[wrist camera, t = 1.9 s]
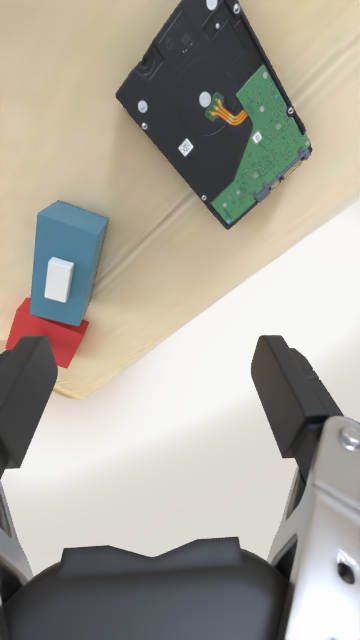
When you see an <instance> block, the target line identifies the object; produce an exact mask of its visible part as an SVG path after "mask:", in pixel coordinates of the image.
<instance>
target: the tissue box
mask: <svg viewBox="0 0 360 640" xmlns="http://www.w3.org/2000/svg"><path fill="white" fill-rule="evenodd" d="M108 220H109V219H108V218H105V217H103V216H100V215H97V214H94V213H92V212H89V211H86V210H83V209H81V208H78V207H75V206H72V205H70V204H67V203H64V202H61V201H59V200H58V201H56V202H55V203H53V204H52V205H50V206H49V207H47V208H45V209H44V210H42V211H41V212H39V213H38V215H37V228H36V240H35V252H34V264H33V277H32V289H31V301H30V314H31V315H35V316H39V317H43V318H47V319H51V320H55V321H59V322H63V323H67V324H71V325H75V326H80V323H81V321H82V319H83V316H84V314H85V312H86V309H87V307H88V305H89V302H90V299H91V294H92V290H93V286H94V281H95V277H96V272H97V268H98V264H99V259H100V255H101V250H102V246H103V242H104V237H105V233H106V228H107V224H108Z"/></svg>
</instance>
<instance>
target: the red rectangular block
mask: <svg viewBox="0 0 360 640" xmlns="http://www.w3.org/2000/svg"><path fill="white" fill-rule="evenodd" d="M30 301H31V299H29V298H26V299H25V301H24V302H23V303H22V304H21V306H20V307H19V308H18V309H17V311H16V315H15V318H14V321H13V325H12V328H11V331H10V334H9V338H8V341H7V345H6V349H9V350H13V348H14V347H15V345H16V344H17V342H18V341H19V339H20V338H21V337H22V336H24V335H46V336H47V337H48V338H49V341H50V344H51V347H52V350H53V354H54V357H55V360H56V363H57V366H60V367H64V368H68V366H69V364H70V362H71V360H72V358H73V356H74V354H75V352H76V350H77V348H78V346H79V344H80V342H81V340H82V338H83V336H84V333H85V331H86V328H87V325H88V323H89V322H87V321H84V320H82V321H81V323H80V326H75V325H71V324H67V323H63V322H59V321H55V320H51V319H47V318H43V317H39V316H35V315H31V314H30Z"/></svg>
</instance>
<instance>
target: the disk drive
mask: <svg viewBox="0 0 360 640" xmlns="http://www.w3.org/2000/svg"><path fill="white" fill-rule="evenodd" d="M116 98H117V99H118V100H119V102H120V103H121V104H122V105H123V107H124V108H125V109H126V110H127V112H128V114H129V115H130V116H131V117H132V118H133V120H134V121H135V122H136V123H137V124H138V125H139V126H140V128H142V129H143V130H144V132H145V133H146V134H147V135H148V137H149V138H150V139H151V140H152V141H153V142H154V144H155V145H156V146H157V147H158V149H159V150H160V151H161V152H162V153H163V154H164V155H165V157H166V158H167V159H168V160H169V161H170V163H171V164H172V165H173V166H174V167H175V169H176V170H177V171H178V172H179V174H180V175H181V176H182V177H183V178H184V179H185V181H186V182H187V183H188V184H189V185H190V187H191V188H192V189H193V190H194V191H195V193H196V194H197V195H198V196H199V197H200V198H201V200H202V201H203V202H204V203H205V205H206V206H207V208H208V209H209V210H210V211H211V212H212V214H213V215H214V216H215V217H216V218H217V219H218V220H219V221H220V223H221V224H222V225H223V226H224V227H225V228H226V229H227V230H229V229H230V228H231V227H232V226H233V225H235V224H236V223H237V222H238V221H239V220H240V219H241V218H242V217H243V216H245V215H246V214H247V213H248V212H249V211H250V210H251V209H252V208H254V207H255V206H256V205H257V203H259V202H261V201H262V200H263V199H264V198H265V197H266V196H267V195H269V194H270V190H272V189H274V188H275V187H276V186H277V185H278V184H279V183H280V182H281V180H282V179H283V180H284V179H285V178H286V177H287V176H288V175H289V174H290V173H291V172H292V171H293V170H294V169H296V168H297V167H298V166H299V165H300V164H301V163H302V161H303V160H307V159H308V157H309V156H310V155H311V152H312V147H311V144H310V141H309V139H308V137H307V136H306V134H305V132H306V129H305V127H304V124H303V123H302V122H301V119H300V118H299V116H298V115H297V113H296V111H295V109H294V107H293V106H292V104H291V102H290V100H289V98H288V96H287V94H286V92H285V90H284V88H283V86H282V84H281V82H280V80H279V78H278V77H277V75H276V73H275V71H274V69H273V67H272V65H271V64H270V61H269V60H268V58H267V56H266V54H265V52H264V50H263V48H262V46H261V45H260V42H259V40H258V38H257V37H256V35H255V33H254V31H253V29H252V27H251V26H250V24H249V21H248V19H247V18H246V16H245V14H244V12H243V10H242V8H241V6H240V4H239V2H238V0H181V2H180V3H179V4H178V6H177V7H176V8H175V10H174V11H173V13H172V14H171V15H170V17H169V19H168V20H167V21H166V23H165V24H164V26H163V27H162V29H161V30H160V31H159V33H158V34H157V35H156V37H155V38H154V40H153V41H152V43H151V45H150V47H149V48H148V50H147V52H146V53H145V54H144V56H143V59H142V61H140V62H139V63H138V65H137V66H136V67H135V68H134V69H132V71H131V72H130V74H129V75H128V77H127V78H126V80H125V81H124V82H123V84H122V85H121V87H120V88H119V90H118V91H117V92H116Z"/></svg>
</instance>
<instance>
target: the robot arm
mask: <svg viewBox="0 0 360 640" xmlns="http://www.w3.org/2000/svg"><path fill="white" fill-rule="evenodd" d="M57 374H58V368H57V363H56V360H55V357H54V354H53V350H52V347H51V344H50V341H49V338H48V337H47V336H46V335H24V336H22V337H21V338H20V339H19V341H18V342H17V344H16V345H15V347H14V348H13V350H6V351H4V352H3V353H2V354H0V479H1V477H2V474H3V472H4V470H5V469H10V468H11V469H12V468H20V466H21V464H22V461H23V459H24V457H25V454H26V452H27V449H28V447H29V445H30V442H31V440H32V438H33V435H34V433H35V430H36V428H37V426H38V423H39V421H40V418H41V416H42V414H43V411H44V409H45V406H46V404H47V402H48V399H49V397H50V394H51V392H52V390H53V387H54V385H55V383H56V380H57ZM251 375H252V379H253V382H254V384H255V387H256V390H257V392H258V395H259V398H260V400H261V403H262V406H263V408H264V411H265V413H266V416H267V419H268V421H269V424H270V427H271V429H272V432H273V434H274V437H275V440H276V442H277V445H278V447H279V450H280V452H281V455H282V458H295V459H296V462H297V464H298V467H297V469H296V471H295V475H294V478H293V482H292V486H291V489H290V492H289V496H288V500H287V503H286V506H285V510H284V514H283V517H282V521H281V524H280V526H279V529H278V532H277V534H276V536H275V538H274V540H273V544H272V546H271V549H270V552H269V555H268V559H267V561H266V560H264V559H262V558H260V557H259V556H257V555H256V554H254V553H251V552H249V551H247V550H244V549H241V548H240V544H239V539H238V537H226V538H212V539H197V540H194V541H192V542H190V543H187V544H185V545H183V546H180V547H178V548H176V549H173V550H171V551H168V552H167V553H164V554H161V555H159V556H156V557H147V556H144V555H140V554H137V553H133V552H130V551H126V550H123V549H119V548H115V547H112V546H109V545H107V546H91V547H77V548H64V549H63V553H62V558H61V561H60V562H58V563H56V564H54V565H52V566H50V567H48V568H46V569H45V570H43V571H42V572H40V573H39V574H38V575H36V576H34V577H33V574H32V571H31V568H30V565H29V562H28V560H27V557H26V555H25V553H24V551H23V549H22V548H21V545H20V543H19V541H18V538H17V535H16V531H15V528H14V525H13V521H12V518H11V514H10V511H9V507H8V504H7V501H6V497H5V494H4V491H3V487H2V484H1V482H0V640H360V423H359V422H357V421H355V420H353V419H351V418H348V417H344V415H343V414H342V412H341V411H340V409H339V407H338V406H337V405H336V403H335V401H334V400H333V398H332V397H331V395H330V394H329V392H328V391H327V389H326V388H325V386H324V385H323V383H322V382H321V380H319V377H318V376H317V374H316V373H315V371H313V368H312V366H311V365H310V363H309V362H308V360H307V359H306V358H305V357H304V356H303V355H302V354H301V353H299V352H298V351H297V350H296V349H295V348H289V347H288V345H287V343H286V342H285V341H284V338H283V337H282V336H280V335H262V336H260V337H259V339H258V342H257V346H256V349H255V353H254V356H253V360H252V363H251Z"/></svg>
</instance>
